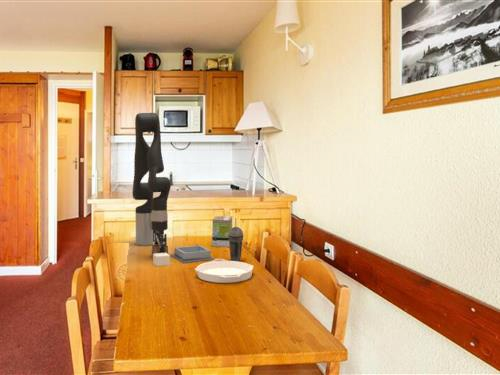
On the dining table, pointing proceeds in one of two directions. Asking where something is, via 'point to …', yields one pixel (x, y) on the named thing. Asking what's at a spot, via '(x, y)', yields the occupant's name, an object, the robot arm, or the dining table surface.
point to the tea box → (221, 231)
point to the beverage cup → (235, 243)
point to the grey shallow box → (192, 254)
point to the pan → (224, 271)
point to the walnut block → (158, 249)
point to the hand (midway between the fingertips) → (159, 253)
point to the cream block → (161, 259)
